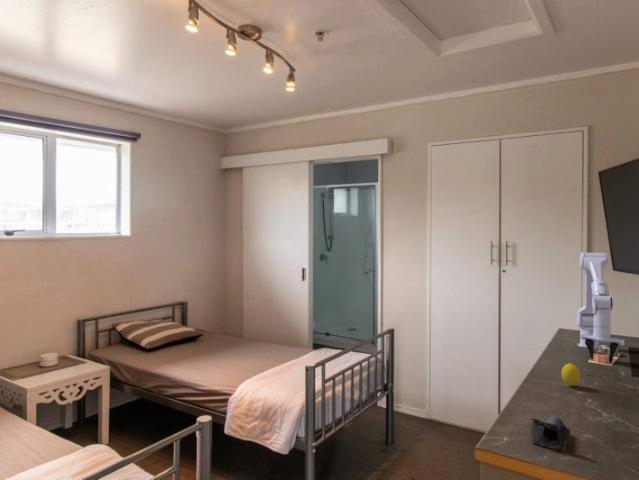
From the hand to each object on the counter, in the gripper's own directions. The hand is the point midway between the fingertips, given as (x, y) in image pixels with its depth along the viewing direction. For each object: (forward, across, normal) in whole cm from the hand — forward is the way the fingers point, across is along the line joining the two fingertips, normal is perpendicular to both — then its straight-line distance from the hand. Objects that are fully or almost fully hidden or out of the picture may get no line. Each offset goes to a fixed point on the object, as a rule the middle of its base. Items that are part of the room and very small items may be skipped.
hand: (601, 360), depth 179 cm
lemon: (+2, -3, -35) cm, 35 cm away
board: (+2, 0, +6) cm, 7 cm away
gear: (0, 0, 0) cm, 0 cm away
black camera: (+2, +3, -81) cm, 81 cm away
